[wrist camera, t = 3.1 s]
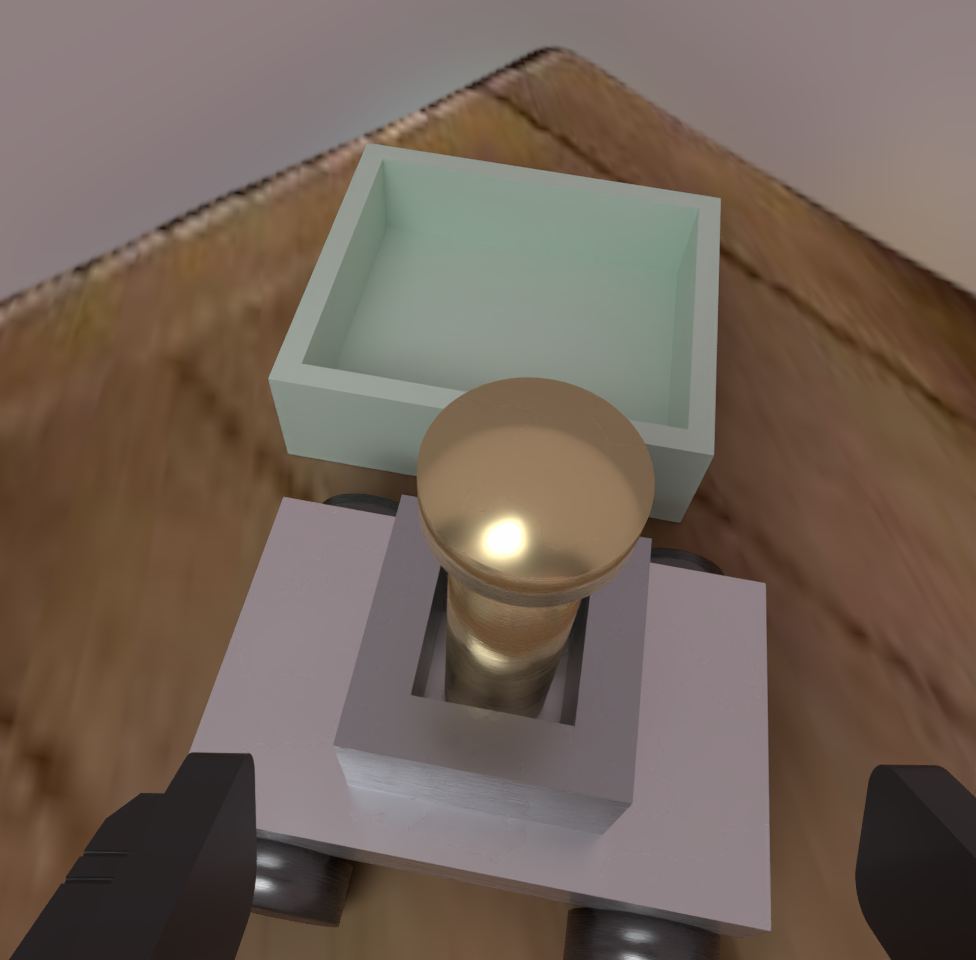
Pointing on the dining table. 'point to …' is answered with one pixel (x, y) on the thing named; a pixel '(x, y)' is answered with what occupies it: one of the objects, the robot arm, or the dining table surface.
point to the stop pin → (526, 527)
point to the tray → (504, 309)
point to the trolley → (502, 739)
